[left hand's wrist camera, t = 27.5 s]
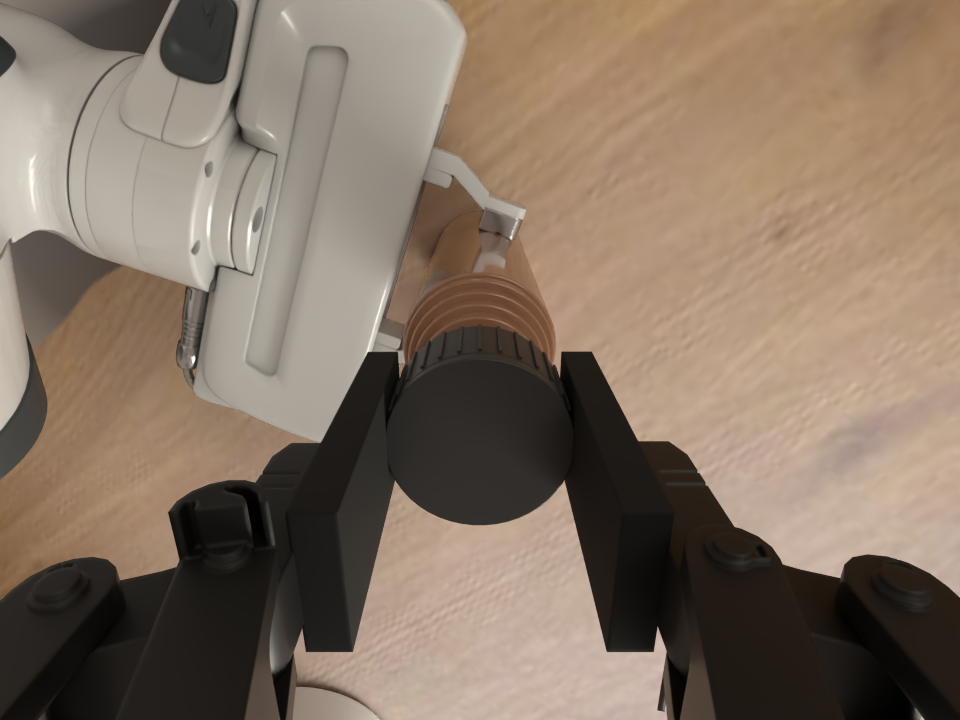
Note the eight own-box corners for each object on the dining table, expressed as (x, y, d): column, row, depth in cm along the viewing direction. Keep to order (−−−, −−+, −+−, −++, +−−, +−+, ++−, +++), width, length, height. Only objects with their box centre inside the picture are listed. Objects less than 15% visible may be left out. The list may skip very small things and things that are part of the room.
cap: (582, 449, 15) (598, 499, 13) (429, 491, 16) (421, 547, 13) (537, 300, 14) (548, 329, 11) (370, 352, 14) (351, 390, 12)
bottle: (446, 303, 34) (401, 526, 14) (428, 219, 32) (349, 347, 13) (528, 288, 33) (595, 496, 14) (514, 203, 32) (570, 308, 12)
